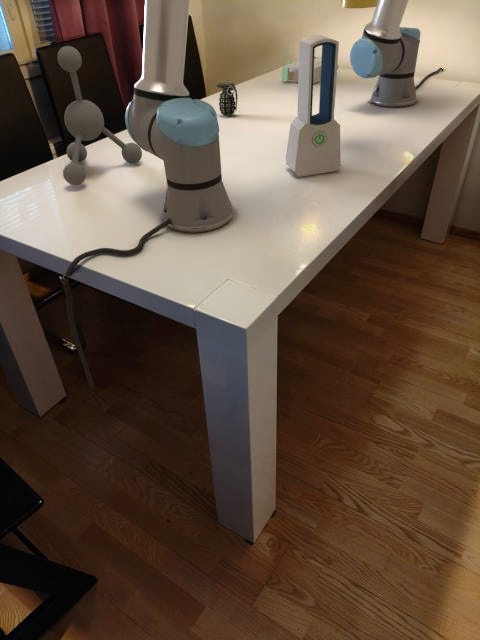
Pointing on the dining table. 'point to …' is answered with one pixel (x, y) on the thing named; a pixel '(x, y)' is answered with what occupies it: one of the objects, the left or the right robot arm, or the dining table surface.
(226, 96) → the grenade
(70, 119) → the molecular model
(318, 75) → the decorative block
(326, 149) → the electronic device
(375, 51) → the right robot arm
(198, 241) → the dining table surface
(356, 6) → the canister
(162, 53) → the left robot arm
